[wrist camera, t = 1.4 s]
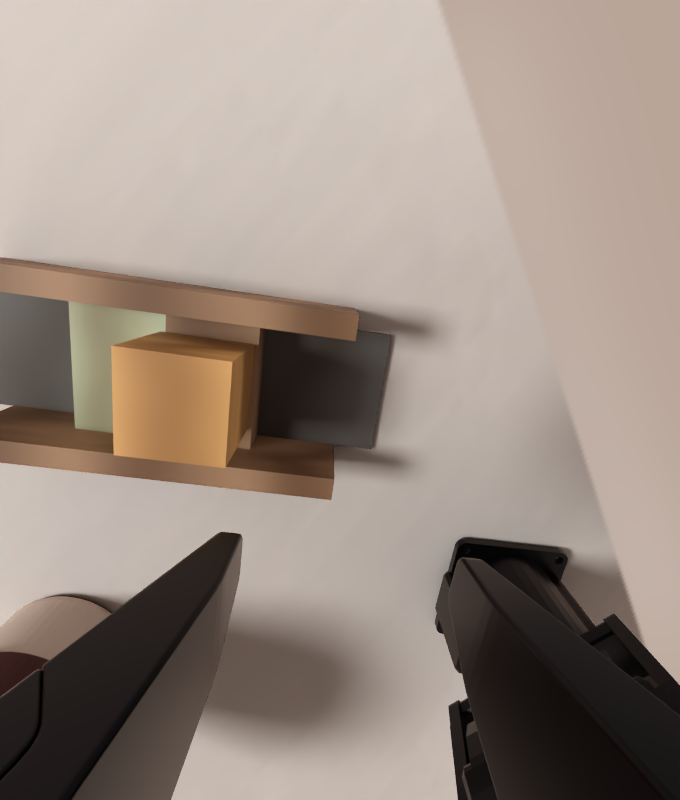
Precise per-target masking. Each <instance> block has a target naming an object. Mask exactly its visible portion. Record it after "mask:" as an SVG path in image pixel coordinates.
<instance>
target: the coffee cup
mask: <svg viewBox="0 0 680 800" xmlns="http://www.w3.org/2000/svg"><path fill="white" fill-rule="evenodd" d="M110 614H111V613H110V612H109V611H107V610H105V609H104V608H102V607H101V606H98V605H96V604H94V603H92V602H90V601H87V600H83V599H80V598H74V597H66V596H55V597H49V598H43V599H40V600H37V601H34V602H32V603H30V604H28V605H26V606H24V607H23V608H22V609H20V610H19V611H18V612H16V613H15V614H14V615H13V616H12V617H11V618H10V619H9V620H8V621H7V622H6V623H4V624H3V625H2V626H1V627H0V697H1V696H2V695H3V694H5V693H6V692H7V691H9V690H10V689H11V688H13V687H14V686H15V685H17V684H18V683H19V682H21V681H22V680H23V679H25V678H26V677H27V676H29V675H30V674H31V673H33V672H34V671H35V670H37V669H40V670H42V667H43V665H44V664H45V663H46V662H48V661H49V660H50V659H52V658H53V657H54V656H56V655H57V654H58V653H60V652H61V651H62V650H64V649H65V648H66V647H68V646H69V645H70V644H72V643H73V642H74V641H76V640H77V639H78V638H80V637H81V636H82V635H84V634H85V633H86V632H88V631H89V630H90V629H92V628H93V627H94V626H96V625H97V624H98V623H100V622H101V621H102V620H104V619H105V618H106V617H108V616H109V615H110Z"/></svg>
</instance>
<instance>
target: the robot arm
mask: <svg viewBox="0 0 680 800" xmlns="http://www.w3.org/2000/svg"><path fill="white" fill-rule="evenodd" d="M464 547H467V548H466V549H465V550H462V548H464ZM241 553H242V535H241V534H237V533H228V532H220V533H218V534H216V535H215V536H214V537H213V538H211V539H210V540H209V541H207V542H206V543H205V544H203V545H202V546H201V547H199V548H198V549H197V550H195V551H194V552H193V553H191V554H190V555H189V556H187V557H186V558H185V559H183V560H182V561H181V562H179V563H178V564H177V565H175V566H174V567H173V568H171V569H170V570H169V571H167V572H166V573H165V574H163V575H162V576H161V577H159V578H158V579H157V580H155V581H154V582H153V583H151V584H150V585H149V586H147V587H146V588H145V589H143V590H142V591H141V592H139V593H138V594H137V595H135V596H134V597H133V598H131V599H130V600H129V601H127V602H126V603H125V604H123V605H122V606H121V607H119V608H118V609H117V610H115V611H114V612H113V613H111V614H110V615H109V616H108V617H106V618H105V619H104V620H102V621H101V622H100V623H98V624H97V625H96V626H94V627H93V628H92V629H90V630H89V631H88V632H86V633H85V634H84V635H82V636H81V637H80V638H78V639H77V640H76V641H74V642H73V643H72V644H70V645H69V646H68V647H66V648H65V649H64V650H62V651H61V652H60V653H58V654H57V655H56V656H54V657H53V658H52V659H50V660H49V661H48V662H46V663H45V664H44V665H43V667H42V670H40V669H37V670H35V671H34V672H33V673H31V674H30V675H29V676H27V677H26V678H25V679H23V680H22V681H21V682H19V683H18V684H17V685H15V686H14V687H13V688H11V689H10V690H9V691H7V692H6V693H5V694H3V695H2V696H1V697H0V800H171V798H172V795H173V792H174V789H175V787H176V784H177V781H178V778H179V775H180V773H181V770H182V767H183V764H184V761H185V759H186V756H187V753H188V750H189V747H190V745H191V742H192V739H193V736H194V733H195V731H196V728H197V725H198V722H199V719H200V717H201V714H202V711H203V708H204V705H205V703H206V700H207V697H208V694H209V691H210V689H211V686H212V683H213V680H214V677H215V674H216V671H217V667H218V663H219V660H220V656H221V652H222V648H223V644H224V640H225V635H226V631H227V627H228V623H229V619H230V615H231V611H232V606H233V602H234V598H235V594H236V590H237V586H238V581H239V575H240V565H241ZM557 557H559V558H557ZM556 558H557V559H556ZM567 560H568V558H567V556H566V554H565V553H564V552H563V551H562V550H561V549H557V548H548V547H539V546H530V545H520V544H511V543H502V542H493V541H484V540H475V539H460V540H458V541H457V542H456V544H455V547H454V551H453V555H452V559H451V562H450V566H449V570H448V571H447V572H446V573H445V574H444V577H443V580H442V584H441V588H440V592H439V596H438V599H437V603H436V611H437V615H436V619H435V625H436V628H437V631H438V632H439V633H442V634H444V636H445V639H446V642H447V645H448V649H449V652H450V655H451V658H452V661H453V664H454V667H455V669H456V670H457V671H458V673H462V675H463V680H464V684H465V689H466V693H467V696H468V698H467V699H465V700H463V701H461V702H460V701H459V700H458V701H456V702H455V703H453V704H451V705H449V715H450V730H451V739H452V748H453V757H454V766H455V775H456V785H457V794H458V800H680V685H679V684H678V683H677V682H676V681H675V680H674V679H673V677H672V676H671V675H670V674H669V673H668V672H667V671H666V670H665V669H664V668H663V666H662V665H661V664H660V663H659V662H658V661H657V660H656V659H655V658H654V657H653V656H652V654H651V653H650V652H649V651H648V650H647V649H646V648H645V647H644V646H643V645H642V644H641V642H640V641H639V640H638V639H637V638H636V637H635V636H634V635H633V634H632V633H631V632H630V630H629V629H628V628H627V627H626V626H625V625H624V624H623V623H622V622H621V621H620V620H619V618H618V617H617V616H616V615H615V614H612V615H610V616H609V617H607V618H605V619H603V620H604V622H603V623H601V624H600V625H598V626H595V625H594V624H593V623H592V621H591V620H590V619H589V617H588V616H587V615H586V613H585V612H584V611H583V610H582V608H581V607H580V606H579V604H578V603H577V602H576V600H575V599H574V598H573V597H572V595H571V594H570V593H569V591H568V590H567V589H566V587H565V586H564V585H563V584H562V582H561V581H560V580H561V577H562V575H563V572H564V569H565V566H566V564H567Z"/></svg>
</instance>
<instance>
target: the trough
mask: <svg viewBox="0 0 680 800" xmlns="http://www.w3.org/2000/svg"><path fill="white" fill-rule="evenodd" d="M358 322H359V314H358V313H357V312H356V311H355V310H354V308H348V307H341V306H334V305H327V304H320V303H313V302H306V301H299V300H292V299H285V298H278V297H272V296H265V295H258V294H251V293H244V292H237V291H230V290H223V289H216V288H209V287H202V286H196V285H189V284H182V283H175V282H168V281H161V280H154V279H147V278H140V277H133V276H127V275H120V274H113V273H106V272H99V271H92V270H85V269H78V268H71V267H64V266H57V265H51V264H44V263H37V262H30V261H23V260H16V259H9V258H1V257H0V404H6V405H14V406H12V407H9V408H7V409H4V410H2V411H0V462H1V463H9V464H18V465H27V466H36V467H45V468H54V469H62V470H71V471H80V472H89V473H98V474H107V475H116V476H124V477H133V478H142V479H151V480H160V481H169V482H177V483H186V484H195V485H204V486H213V487H222V488H231V489H239V490H248V491H257V492H266V493H275V494H284V495H292V496H301V497H310V498H319V499H328V500H331V498H332V491H333V485H334V445H342V446H350V447H358V448H366V449H371V447H372V442H373V436H374V431H375V425H376V419H377V414H378V408H379V403H380V397H381V392H382V386H383V380H384V375H385V369H386V364H387V358H388V352H389V347H390V341H391V335H387V334H380V333H373V332H366V331H359V330H357V328H358ZM160 331H162V332H170V333H177V334H184V335H192V336H199V337H206V338H213V339H221V340H228V341H235V342H243V343H250V344H254V352H253V364H252V377H251V389H250V402H249V414H248V426H247V431H246V432H245V434H244V436H243V438H242V439H241V441H240V443H239V445H238V447H237V448H236V450H235V452H234V454H233V455H232V457H231V459H230V461H229V463H228V464H227V466H226V468H220V467H211V466H202V465H194V464H185V463H177V462H168V461H159V460H151V459H142V458H134V457H125V456H116V455H114V447H113V403H112V359H111V346H112V345H115V344H119V343H122V342H126V341H129V340H133V339H136V338H139V337H143V336H146V335H150V334H153V333H157V332H160Z"/></svg>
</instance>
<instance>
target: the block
mask: <svg viewBox="0 0 680 800" xmlns="http://www.w3.org/2000/svg"><path fill="white" fill-rule="evenodd" d="M253 352H254V344H250V343H243V342H235V341H228V340H221V339H213V338H206V337H199V336H192V335H184V334H177V333H170V332H162V331H160V332H157V333H153V334H150V335H146V336H143V337H139V338H136V339H133V340H129V341H126V342H122V343H119V344H115V345H112V346H111V359H112V403H113V447H114V455H116V456H125V457H134V458H142V459H151V460H159V461H168V462H177V463H185V464H194V465H202V466H211V467H220V468H226V466H227V464H228V463H229V461H230V459H231V457H232V455H233V454H234V452H235V450H236V448H237V447H238V445H239V443H240V441H241V439H242V438H243V436H244V434H245V432H246V431H247V426H248V414H249V402H250V389H251V377H252V364H253Z"/></svg>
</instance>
